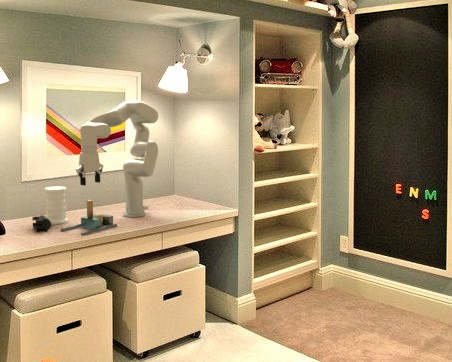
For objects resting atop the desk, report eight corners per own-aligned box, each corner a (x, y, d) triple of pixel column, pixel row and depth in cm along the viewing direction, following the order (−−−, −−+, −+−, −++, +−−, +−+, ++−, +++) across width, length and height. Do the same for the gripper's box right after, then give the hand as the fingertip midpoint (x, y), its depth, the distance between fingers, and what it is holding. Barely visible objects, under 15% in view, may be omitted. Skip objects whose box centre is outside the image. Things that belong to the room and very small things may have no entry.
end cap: (51, 231, 276) (51, 217, 275) (36, 233, 272) (36, 219, 271) (47, 227, 285) (46, 214, 284) (32, 228, 281) (32, 215, 280)
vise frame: (95, 222, 296) (95, 212, 295) (117, 226, 288) (117, 216, 287) (61, 230, 277) (60, 220, 276) (83, 235, 269) (83, 225, 268)
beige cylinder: (97, 224, 290) (97, 213, 289) (104, 226, 288) (104, 214, 287) (90, 226, 286) (90, 215, 285) (97, 228, 283) (97, 216, 283)
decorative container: (72, 220, 299) (71, 187, 296) (57, 225, 288) (56, 190, 286) (55, 218, 304) (54, 185, 301) (40, 222, 293) (38, 188, 291)
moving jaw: (85, 225, 287) (84, 198, 284) (99, 228, 281) (99, 201, 279) (81, 227, 284) (80, 199, 282) (95, 229, 279) (94, 202, 277)
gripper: (96, 147, 286) (97, 180, 289) (70, 150, 272) (71, 185, 275) (107, 148, 282) (108, 182, 285) (81, 151, 268) (82, 187, 271)
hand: (90, 183), depth 280 cm, fingers open, 9 cm apart
